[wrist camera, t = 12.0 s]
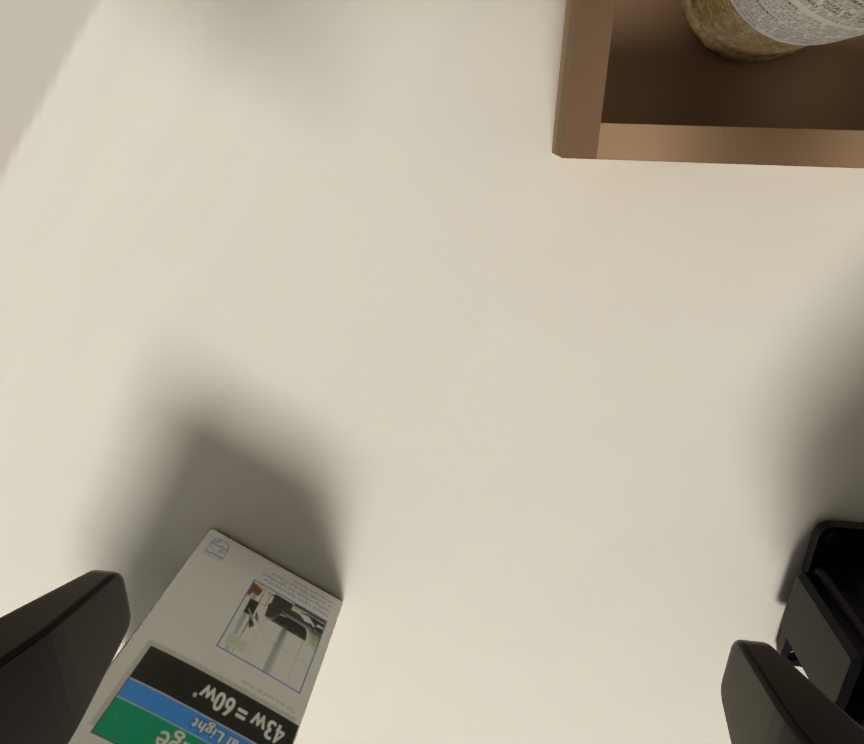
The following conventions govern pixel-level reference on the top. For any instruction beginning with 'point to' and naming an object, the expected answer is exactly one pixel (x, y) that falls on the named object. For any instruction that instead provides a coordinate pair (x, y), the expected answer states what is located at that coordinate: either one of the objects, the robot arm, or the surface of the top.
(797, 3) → the sprinkles bottle
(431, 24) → the top surface
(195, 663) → the light bulb box
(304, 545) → the top surface
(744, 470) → the top surface
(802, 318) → the top surface
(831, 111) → the crate
